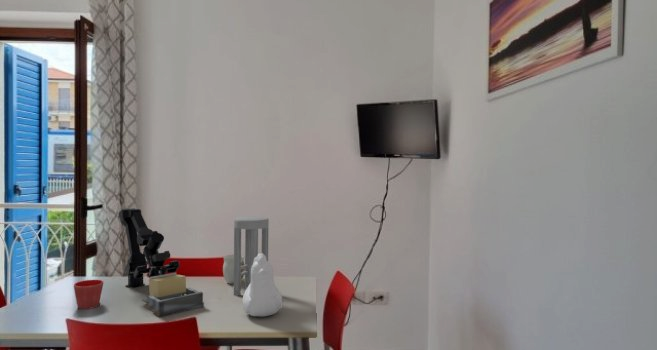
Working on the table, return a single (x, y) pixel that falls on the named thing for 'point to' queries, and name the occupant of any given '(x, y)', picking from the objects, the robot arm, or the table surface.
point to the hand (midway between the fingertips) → (162, 285)
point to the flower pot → (88, 293)
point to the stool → (248, 247)
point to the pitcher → (231, 268)
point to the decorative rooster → (262, 290)
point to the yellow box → (167, 286)
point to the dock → (175, 303)
